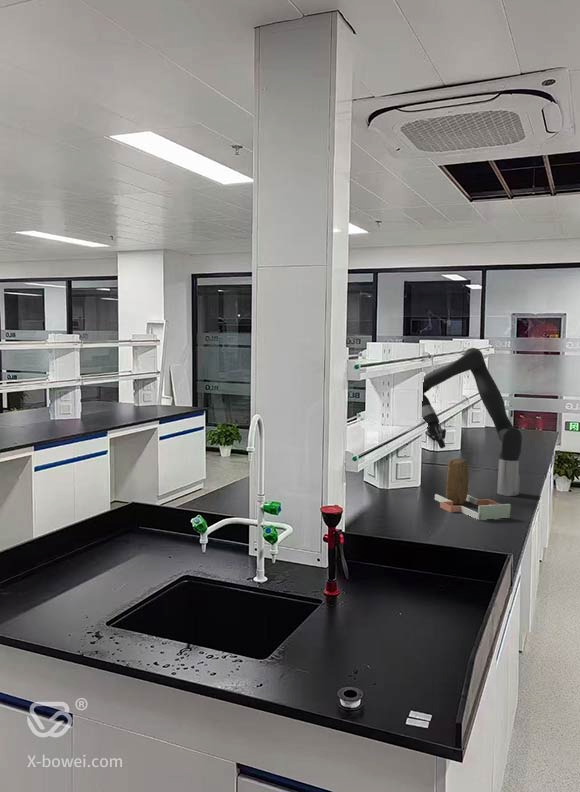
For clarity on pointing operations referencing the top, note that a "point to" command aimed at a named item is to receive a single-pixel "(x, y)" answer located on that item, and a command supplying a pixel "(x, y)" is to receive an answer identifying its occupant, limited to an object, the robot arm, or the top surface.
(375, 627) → the top surface
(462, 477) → the block
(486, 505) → the trap channel
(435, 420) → the robot arm
